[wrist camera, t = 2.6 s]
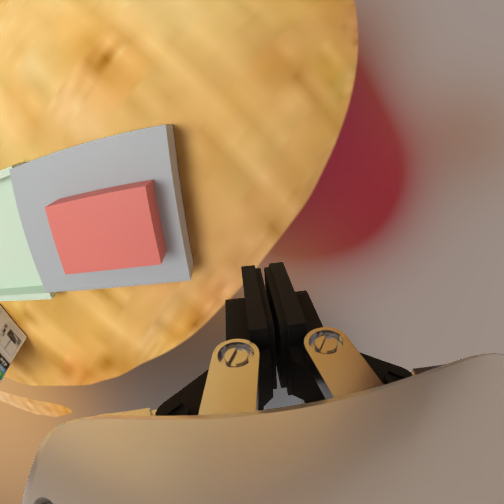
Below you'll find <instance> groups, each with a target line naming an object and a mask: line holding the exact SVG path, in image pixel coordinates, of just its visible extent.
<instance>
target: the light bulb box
mask: <svg viewBox="0 0 504 504" xmlns="http://www.w3.org/2000/svg"><path fill="white" fill-rule="evenodd" d="M26 338H27V336H26V335H25V334H24V333H23V332H22V331H21V329H20V328H19V327H18V326H17V325H16V324H15V322H14V321H13V320H12V319H11V317H10V316H9V315H8V314H7V312H6V311H5V310H4V309H3V307H2V306H1V305H0V382H1V380H2V378H3V376H4V375H5V373H6V371H7V369H8V368H9V366H10V364H11V362H12V361H13V359H14V357H15V356H16V354H17V353H18V351H19V349H20V348H21V346H22V345H23V343H24V341H25V340H26Z"/></svg>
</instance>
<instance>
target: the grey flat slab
mask: <svg viewBox="0 0 504 504" xmlns="http://www.w3.org/2000/svg"><path fill="white" fill-rule="evenodd" d="M9 171H10V177H11V182H12V187H13V191H14V196H15V200H16V204H17V208H18V212H19V216H20V219H21V223H22V227H23V230H24V233H25V236H26V240H27V243H28V246H29V249H30V252H31V255H32V258H33V260H34V263H35V266H36V268H37V271H38V274H39V276H40V279H41V281H42V284H43V286H44V289H45V291H46V293H48V292H62V291H76V290H89V289H102V288H114V287H125V286H137V285H148V284H159V283H169V282H180V281H190V280H191V276H192V270H193V265H194V263H193V258H192V253H191V247H190V242H189V236H188V230H187V224H186V218H185V212H184V205H183V199H182V192H181V185H180V178H179V171H178V164H177V156H176V148H175V140H174V131H173V124H166V125H160V126H155V127H149V128H144V129H140V130H135V131H130V132H126V133H122V134H117V135H113V136H109V137H105V138H102V139H98V140H94V141H90V142H87V143H83V144H80V145H77V146H73V147H70V148H67V149H64V150H61V151H58V152H55V153H52V154H49V155H46V156H43V157H40V158H38V159H35V160H32V161H30V162H27V163H25V164H22V165H20V166H17V167H15V168H12V169H10V170H9ZM152 179H153V180H154V186H155V192H156V198H157V204H158V209H159V215H160V220H161V225H162V230H163V235H164V240H165V245H166V249H167V252H166V254H165V257H164V259H163V262H162V264H161V265H152V266H142V267H133V268H123V269H114V270H105V271H95V272H86V273H76V274H67V275H65V272H64V269H63V266H62V263H61V261H60V258H59V255H58V252H57V249H56V245H55V242H54V239H53V236H52V232H51V229H50V225H49V222H48V218H47V214H46V210H45V207H46V206H48V205H49V204H51V203H53V202H54V201H56V200H58V199H60V198H64V197H68V196H73V195H77V194H81V193H85V192H90V191H95V190H99V189H104V188H109V187H114V186H119V185H124V184H129V183H135V182H140V181H146V180H152Z"/></svg>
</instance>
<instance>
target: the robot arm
mask: <svg viewBox="0 0 504 504" xmlns="http://www.w3.org/2000/svg"><path fill="white" fill-rule="evenodd" d="M241 268H242V277H243V287H244V296H245V298H239V299H229V300H226V341H225V342H223V343H221V344H219V346H217V347H216V348H215V350H214V352H213V355H212V359H211V363H210V367H209V369H208V370H207V371H206V372H204V373H203V374H202V375H200V376H199V377H198V378H196V379H195V380H194V381H192V382H191V383H190V384H188V385H187V386H186V387H184V388H183V389H182V390H181V391H179V392H178V393H176V394H175V395H174V396H172V397H171V398H169V399H168V400H167V401H165V402H164V403H163V404H162V405H161V406H160V407H159V408H158V409H157V410H153V411H151V410H150V408H146V409H139V410H132V411H126V412H118V413H110V414H101V415H97V416H91V417H84V418H79V419H75V420H70V421H68V422H64V423H62V424H60V425H57V426H56V427H55V428H53V429H52V430H51V431H50V432H49V433H48V434H47V436H46V437H45V439H44V440H43V442H42V444H41V446H40V448H39V450H38V452H37V454H36V457H35V459H34V462H33V465H32V468H31V471H30V474H29V477H28V481H27V484H26V487H25V492H24V496H23V501H22V504H504V354H498V353H489V354H480V355H474V356H470V357H466V358H463V359H460V360H457V361H454V362H451V363H448V364H444V365H438V366H431V367H423V368H414V369H413V370H412V372H409V371H408V370H406V369H404V368H402V367H399V366H396V365H393V364H390V363H387V362H385V361H382V360H379V359H376V358H373V357H371V356H368V355H365V354H362V353H359V351H358V350H357V349H356V348H355V346H354V345H353V344H352V342H351V341H350V340H349V338H348V337H347V336H346V335H345V334H344V333H343V332H342V331H340V330H338V329H335V328H330V327H323V326H322V323H321V321H320V319H319V317H318V315H317V313H316V310H315V308H314V306H313V304H312V301H311V299H310V297H309V295H308V293H307V291H298V292H295V291H294V289H293V286H292V284H291V281H290V279H289V276H288V274H287V271H286V269H285V266H284V264H283V263H282V262H280V263H271V264H269V267H266V268H265V269H264V272H265V286H264V281H263V277H262V273H261V269H260V268H257V269H255V265H252V266H243V267H241ZM265 289H266V290H265ZM276 366H277V371H278V375H279V381H280V385H281V388H285V387H286V388H287V393H288V395H294V396H296V397H298V398H300V402H301V404H300V405H294V406H287V407H281V408H274V409H266V410H264V406H265V405H266V404H267V403H268V402H269V401H270V400H271V399H272V397H273V389H277V381H276Z"/></svg>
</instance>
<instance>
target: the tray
mask: <svg viewBox="0 0 504 504" xmlns="http://www.w3.org/2000/svg"><path fill="white" fill-rule="evenodd" d="M22 164H25V163H24V162H22V163H19V164H16V165H13V166H10V167H8V168H5V169H3V170H1V171H0V301H20V300H42V299H52V298H53V297H54V296H55V294H56V293H57V292H48V293H46V291H45V289H44V286H43V284H42V281H41V279H40V276H39V274H38V271H37V268H36V266H35V263H34V260H33V258H32V255H31V252H30V249H29V246H28V243H27V240H26V236H25V233H24V230H23V227H22V223H21V219H20V216H19V212H18V208H17V204H16V200H15V196H14V191H13V187H12V182H11V177H10V171H9V170H10V169H12V168H15V167H17V166H20V165H22Z"/></svg>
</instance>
